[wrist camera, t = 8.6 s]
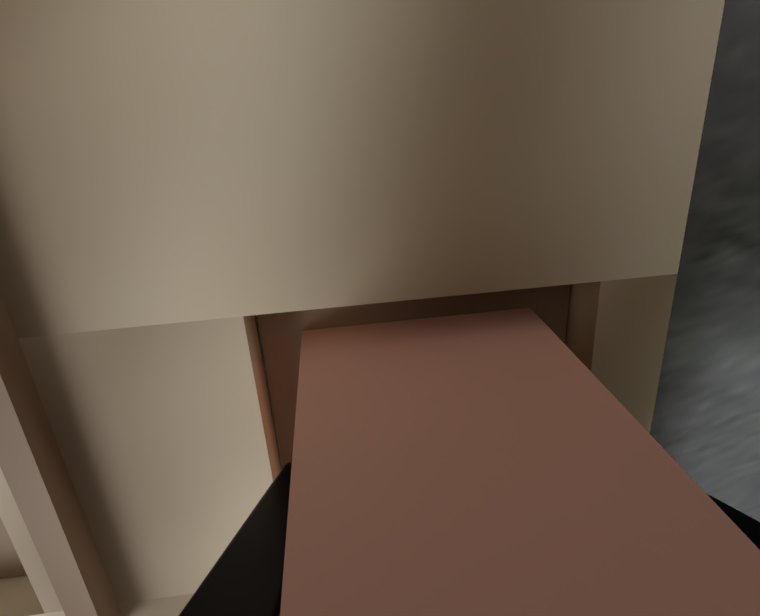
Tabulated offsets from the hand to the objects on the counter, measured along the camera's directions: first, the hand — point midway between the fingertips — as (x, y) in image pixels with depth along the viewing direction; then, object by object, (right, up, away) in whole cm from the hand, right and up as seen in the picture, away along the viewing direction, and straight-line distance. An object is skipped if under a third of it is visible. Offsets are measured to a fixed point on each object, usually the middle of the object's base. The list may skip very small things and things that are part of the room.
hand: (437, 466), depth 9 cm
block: (0, +1, +1) cm, 1 cm away
